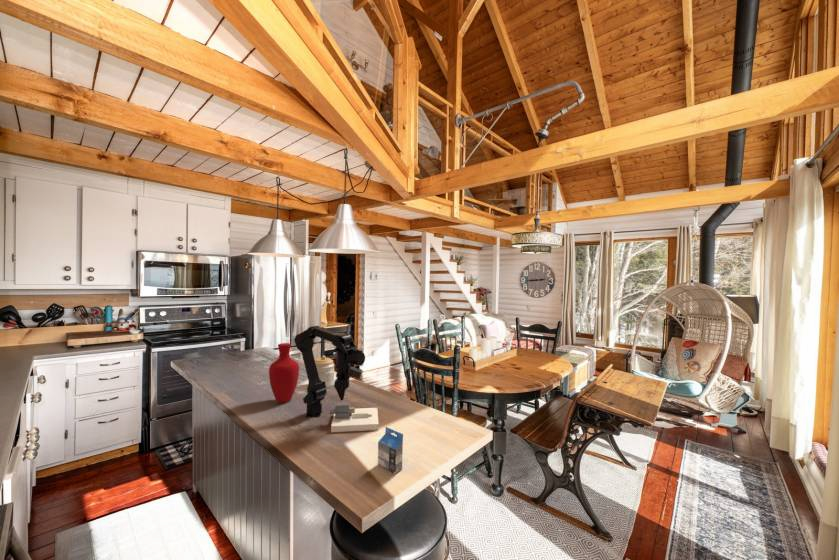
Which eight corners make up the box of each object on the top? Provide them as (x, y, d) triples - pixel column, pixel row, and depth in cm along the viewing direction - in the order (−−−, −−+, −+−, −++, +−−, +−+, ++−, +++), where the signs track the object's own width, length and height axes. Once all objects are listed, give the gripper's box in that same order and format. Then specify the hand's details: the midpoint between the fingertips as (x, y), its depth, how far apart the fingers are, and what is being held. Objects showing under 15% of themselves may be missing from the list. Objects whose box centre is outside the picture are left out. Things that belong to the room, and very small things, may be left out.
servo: (329, 419, 151) (329, 406, 151) (330, 415, 155) (330, 402, 155) (354, 418, 153) (354, 404, 153) (354, 414, 157) (354, 401, 157)
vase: (274, 408, 168) (274, 348, 168) (264, 400, 179) (265, 343, 179) (303, 401, 178) (304, 344, 178) (292, 394, 189) (293, 340, 189)
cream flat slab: (331, 432, 144) (331, 426, 144) (334, 414, 162) (335, 409, 162) (378, 429, 148) (378, 423, 148) (377, 412, 165) (377, 407, 165)
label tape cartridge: (377, 464, 121) (377, 430, 120) (384, 460, 124) (385, 426, 124) (395, 474, 115) (395, 438, 115) (403, 469, 118) (403, 434, 118)
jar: (310, 382, 209) (311, 354, 209) (332, 380, 215) (332, 352, 214) (313, 389, 197) (314, 359, 197) (336, 386, 203) (336, 357, 203)
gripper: (361, 367, 146) (360, 403, 146) (361, 356, 164) (360, 388, 164) (334, 367, 144) (333, 404, 144) (337, 357, 162) (337, 389, 163)
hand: (342, 396), depth 154 cm, fingers open, 9 cm apart
